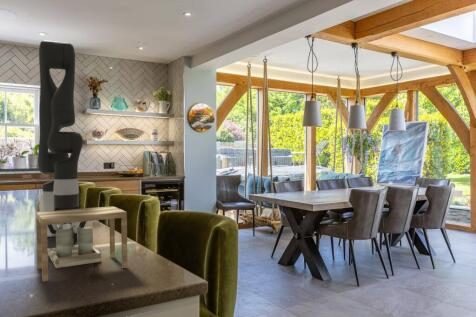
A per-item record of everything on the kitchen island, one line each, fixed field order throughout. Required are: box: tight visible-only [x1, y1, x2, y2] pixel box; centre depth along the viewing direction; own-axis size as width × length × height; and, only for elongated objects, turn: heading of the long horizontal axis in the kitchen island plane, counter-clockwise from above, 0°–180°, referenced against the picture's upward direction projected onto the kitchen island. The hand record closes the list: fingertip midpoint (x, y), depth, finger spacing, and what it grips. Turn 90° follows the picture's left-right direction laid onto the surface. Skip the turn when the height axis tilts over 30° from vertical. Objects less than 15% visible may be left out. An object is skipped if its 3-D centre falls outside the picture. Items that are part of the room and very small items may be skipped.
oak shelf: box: [35, 206, 129, 283], centre depth 110 cm, size 14×21×16 cm, turn 122°
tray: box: [47, 226, 102, 269], centre depth 123 cm, size 22×12×9 cm, turn 32°
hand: (67, 245), depth 131 cm, fingers closed on tray, 3 cm apart
